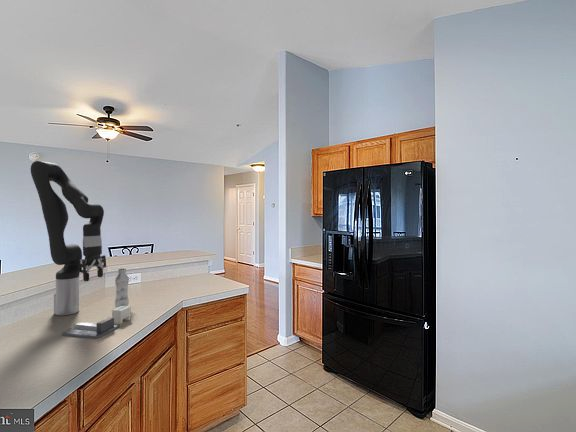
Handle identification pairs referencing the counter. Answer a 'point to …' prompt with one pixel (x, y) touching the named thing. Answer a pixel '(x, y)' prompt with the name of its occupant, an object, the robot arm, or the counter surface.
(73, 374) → the counter surface
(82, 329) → the rail plate
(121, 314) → the block
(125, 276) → the plastic bottle
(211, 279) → the counter surface
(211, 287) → the counter surface
